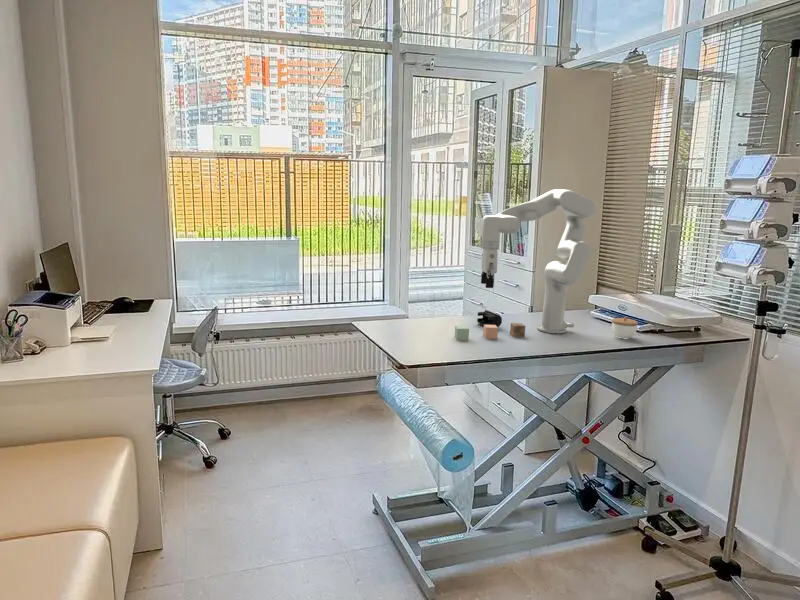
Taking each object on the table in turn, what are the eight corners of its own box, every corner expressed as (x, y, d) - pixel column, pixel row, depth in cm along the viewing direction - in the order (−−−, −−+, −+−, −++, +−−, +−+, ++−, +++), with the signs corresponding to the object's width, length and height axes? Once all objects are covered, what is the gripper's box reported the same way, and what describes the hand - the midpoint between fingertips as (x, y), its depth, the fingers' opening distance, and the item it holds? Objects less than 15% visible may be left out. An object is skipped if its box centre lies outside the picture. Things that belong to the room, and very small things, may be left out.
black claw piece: (501, 328, 270) (502, 314, 268) (488, 329, 267) (489, 315, 265) (489, 323, 278) (490, 309, 277) (476, 324, 275) (477, 310, 274)
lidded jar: (616, 340, 258) (619, 319, 256) (606, 334, 268) (608, 314, 266) (640, 341, 259) (643, 320, 257) (628, 334, 269) (631, 314, 267)
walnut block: (521, 334, 261) (522, 323, 260) (524, 337, 257) (525, 326, 256) (510, 334, 261) (510, 323, 260) (513, 337, 256) (514, 325, 255)
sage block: (466, 337, 252) (466, 325, 251) (468, 340, 247) (469, 328, 246) (454, 337, 252) (455, 325, 251) (456, 340, 247) (457, 328, 246)
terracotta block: (494, 336, 256) (495, 324, 255) (497, 339, 251) (498, 327, 250) (482, 335, 256) (483, 324, 255) (485, 338, 251) (486, 327, 250)
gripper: (503, 248, 240) (500, 289, 243) (494, 243, 257) (491, 282, 260) (485, 247, 239) (482, 289, 243) (477, 242, 256) (474, 281, 259)
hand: (487, 285), depth 251 cm, fingers open, 9 cm apart
